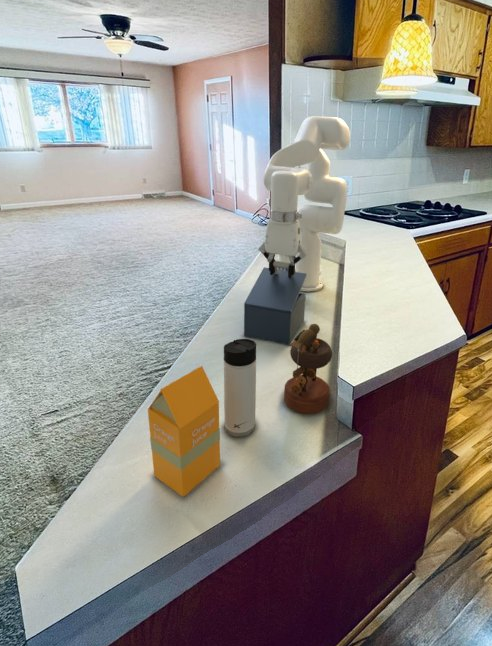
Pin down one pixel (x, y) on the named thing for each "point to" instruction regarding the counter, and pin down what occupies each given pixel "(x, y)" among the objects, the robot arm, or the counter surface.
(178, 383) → the orange juice
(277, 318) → the box
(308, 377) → the music box
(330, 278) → the counter surface
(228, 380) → the travel mug
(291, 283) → the lid
